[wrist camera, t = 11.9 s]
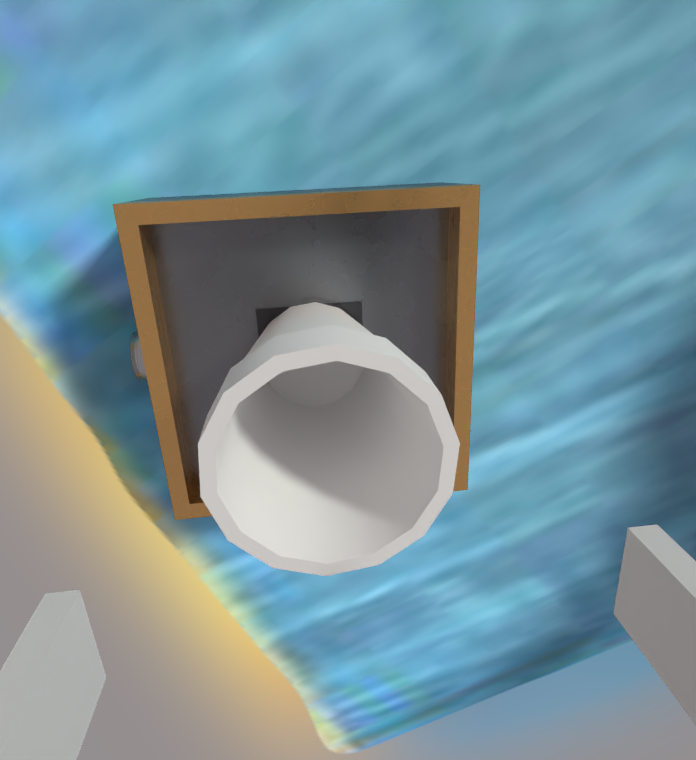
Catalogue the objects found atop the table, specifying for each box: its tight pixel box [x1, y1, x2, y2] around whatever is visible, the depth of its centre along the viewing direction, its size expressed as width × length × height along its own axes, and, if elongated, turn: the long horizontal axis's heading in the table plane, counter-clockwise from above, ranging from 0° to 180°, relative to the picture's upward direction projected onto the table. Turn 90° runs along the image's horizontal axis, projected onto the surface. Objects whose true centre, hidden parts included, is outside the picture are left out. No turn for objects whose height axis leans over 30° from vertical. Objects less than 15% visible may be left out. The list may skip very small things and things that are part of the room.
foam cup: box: [198, 302, 460, 576], centre depth 25 cm, size 10×9×13 cm
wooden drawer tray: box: [113, 183, 480, 520], centre depth 33 cm, size 20×18×7 cm
